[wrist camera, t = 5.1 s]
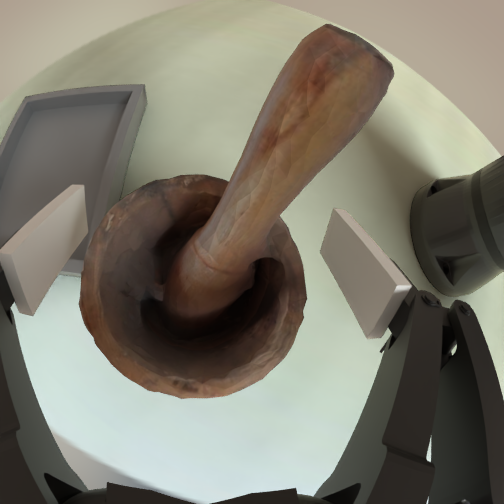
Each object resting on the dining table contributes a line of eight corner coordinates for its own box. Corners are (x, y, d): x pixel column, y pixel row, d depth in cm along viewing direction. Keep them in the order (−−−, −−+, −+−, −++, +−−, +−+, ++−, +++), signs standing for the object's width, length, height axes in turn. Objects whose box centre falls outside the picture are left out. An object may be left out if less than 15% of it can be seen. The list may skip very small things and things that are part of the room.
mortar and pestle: (172, 205, 23) (152, -30, 4) (266, 233, 25) (422, 52, 5) (131, 335, 20) (-81, 380, 1) (233, 365, 21) (390, 525, 2)
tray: (147, 103, 25) (144, 84, 22) (106, 280, 21) (94, 275, 18) (33, 111, 22) (25, 96, 20) (-17, 261, 18) (-33, 255, 15)
